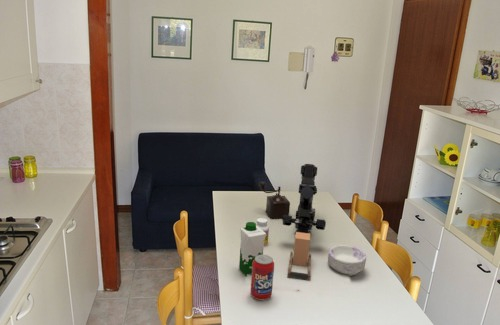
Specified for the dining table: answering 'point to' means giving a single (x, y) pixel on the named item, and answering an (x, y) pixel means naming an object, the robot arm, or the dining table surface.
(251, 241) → the milk carton
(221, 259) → the dining table surface
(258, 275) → the soda can
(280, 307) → the dining table surface
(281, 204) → the brown manual coffee grinder
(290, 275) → the brown wooden tray
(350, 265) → the paper bowls
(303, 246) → the block
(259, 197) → the dining table surface
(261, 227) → the supplement bottle
